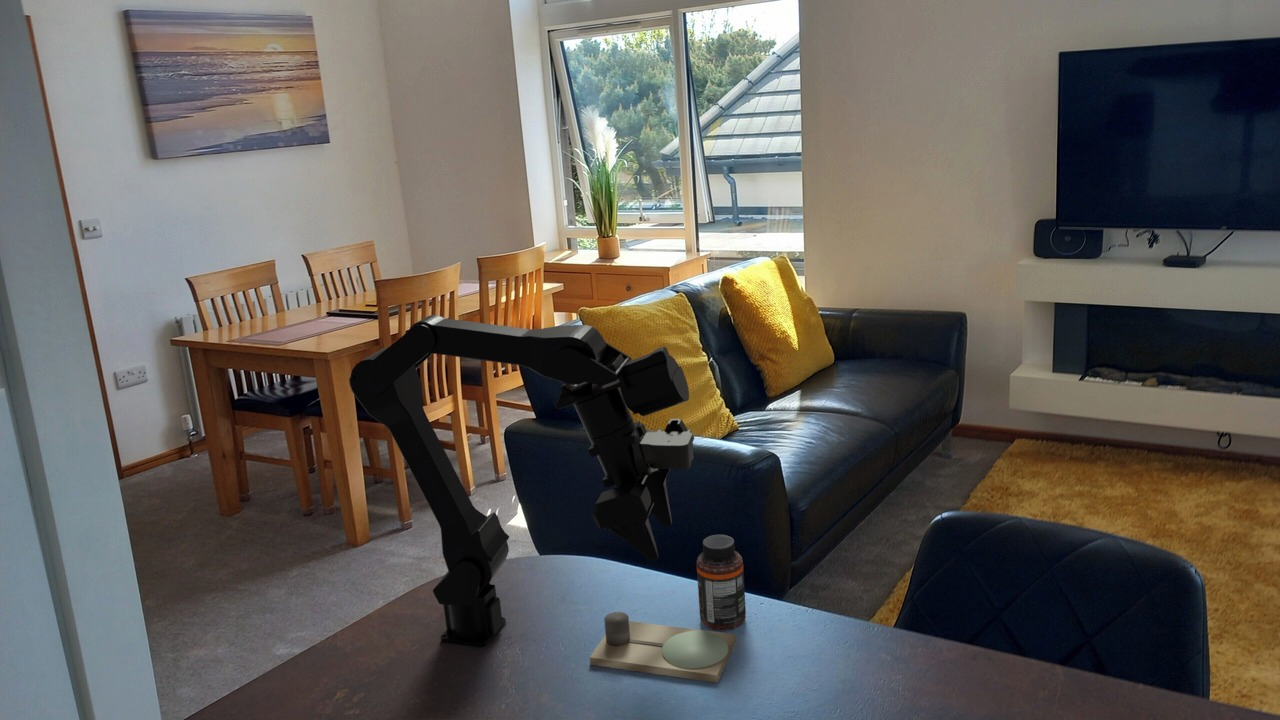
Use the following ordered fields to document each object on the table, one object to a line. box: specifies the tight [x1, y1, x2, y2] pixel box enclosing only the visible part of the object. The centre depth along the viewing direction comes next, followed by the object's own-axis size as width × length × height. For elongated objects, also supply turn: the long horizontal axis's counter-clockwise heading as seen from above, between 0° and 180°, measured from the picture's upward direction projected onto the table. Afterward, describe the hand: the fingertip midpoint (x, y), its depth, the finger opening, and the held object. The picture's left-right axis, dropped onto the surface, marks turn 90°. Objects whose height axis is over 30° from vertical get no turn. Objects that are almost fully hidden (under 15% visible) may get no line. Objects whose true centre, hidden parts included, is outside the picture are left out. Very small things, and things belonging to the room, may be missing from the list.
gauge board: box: [589, 611, 738, 684], centre depth 120 cm, size 16×9×4 cm, turn 70°
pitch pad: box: [662, 630, 728, 669], centre depth 118 cm, size 8×8×1 cm
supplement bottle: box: [696, 534, 747, 632], centre depth 125 cm, size 6×6×11 cm
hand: (661, 541), depth 119 cm, fingers open, 9 cm apart
